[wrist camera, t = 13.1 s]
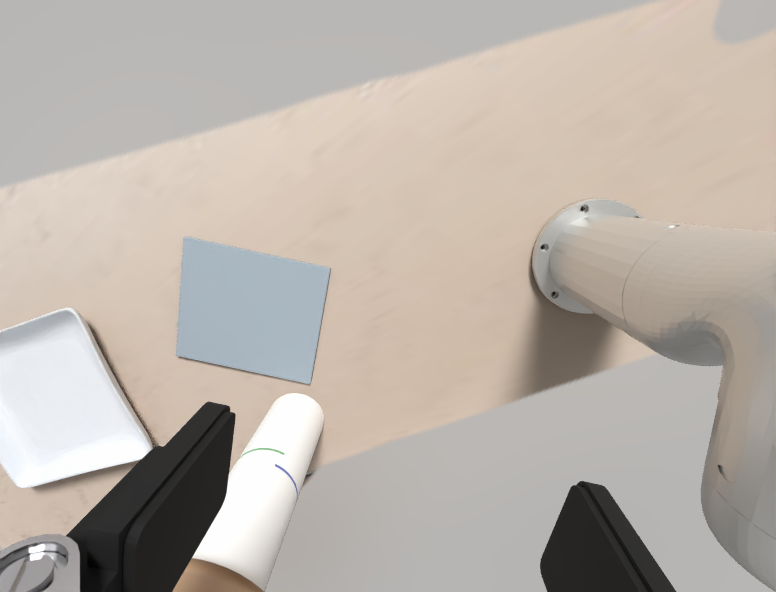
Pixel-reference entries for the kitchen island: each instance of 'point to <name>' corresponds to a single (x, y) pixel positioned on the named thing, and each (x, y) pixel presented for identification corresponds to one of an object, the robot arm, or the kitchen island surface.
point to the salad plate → (61, 403)
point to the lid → (212, 579)
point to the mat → (250, 310)
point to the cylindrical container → (264, 490)
